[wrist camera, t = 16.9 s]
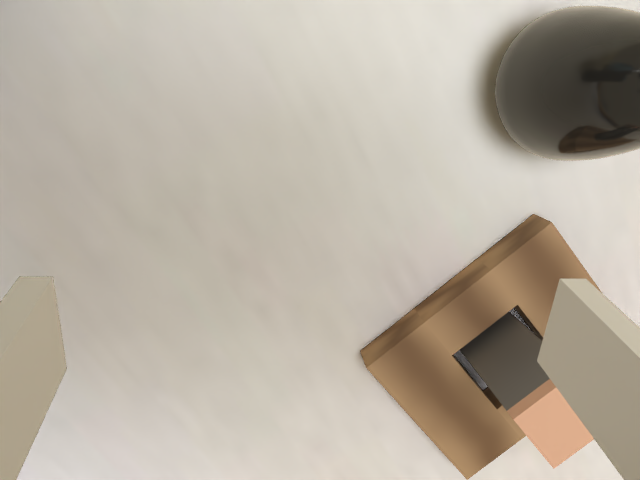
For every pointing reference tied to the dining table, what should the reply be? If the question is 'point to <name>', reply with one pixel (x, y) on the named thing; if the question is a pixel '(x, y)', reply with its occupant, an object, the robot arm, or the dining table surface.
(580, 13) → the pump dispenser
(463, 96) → the dining table surface
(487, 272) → the socket plate
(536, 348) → the grey tall block
